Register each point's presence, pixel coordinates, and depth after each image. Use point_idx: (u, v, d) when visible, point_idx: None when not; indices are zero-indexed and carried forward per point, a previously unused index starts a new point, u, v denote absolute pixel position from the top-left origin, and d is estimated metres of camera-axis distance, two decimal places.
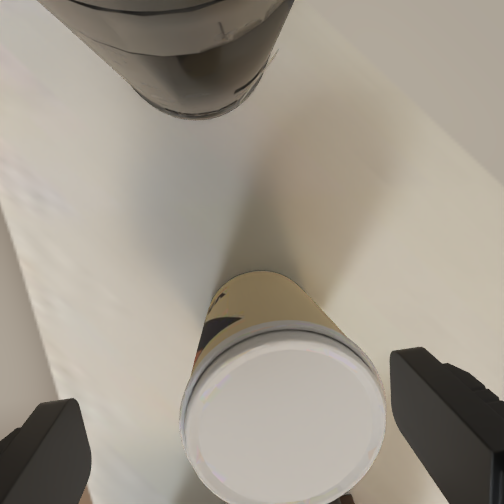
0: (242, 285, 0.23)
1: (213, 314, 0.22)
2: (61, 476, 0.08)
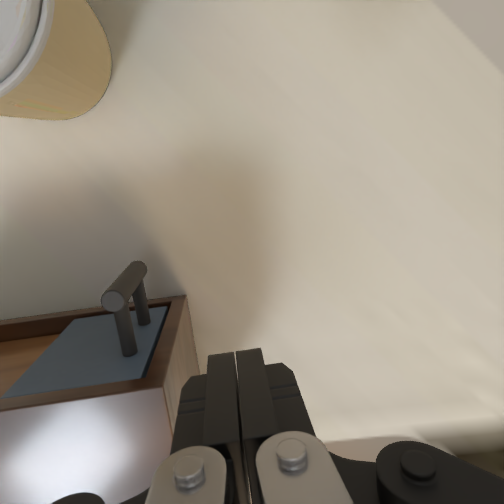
0: None
1: None
2: (240, 414, 0.09)
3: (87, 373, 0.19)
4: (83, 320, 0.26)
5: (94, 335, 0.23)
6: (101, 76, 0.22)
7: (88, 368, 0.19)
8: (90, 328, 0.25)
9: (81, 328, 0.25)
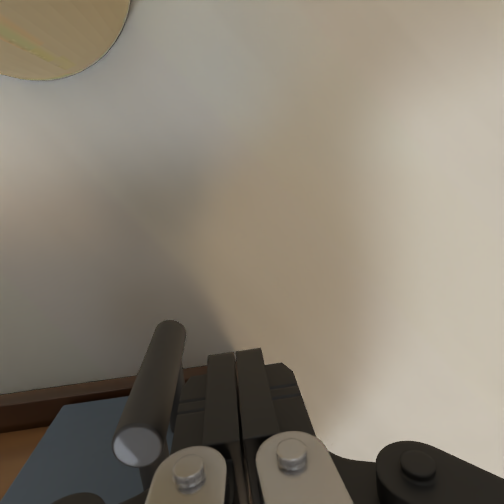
0: None
1: None
2: (240, 414, 0.09)
3: None
4: (76, 410, 0.16)
5: (95, 455, 0.13)
6: None
7: None
8: (89, 433, 0.14)
9: (73, 432, 0.15)
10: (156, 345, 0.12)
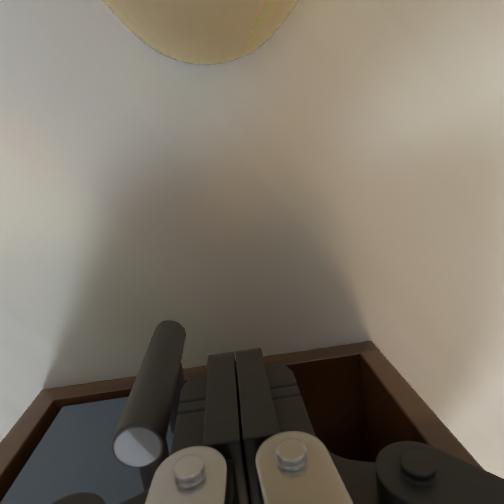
0: None
1: None
2: (240, 414, 0.09)
3: None
4: (76, 411, 0.16)
5: (95, 456, 0.13)
6: None
7: None
8: (88, 434, 0.14)
9: (73, 434, 0.15)
10: (156, 345, 0.12)
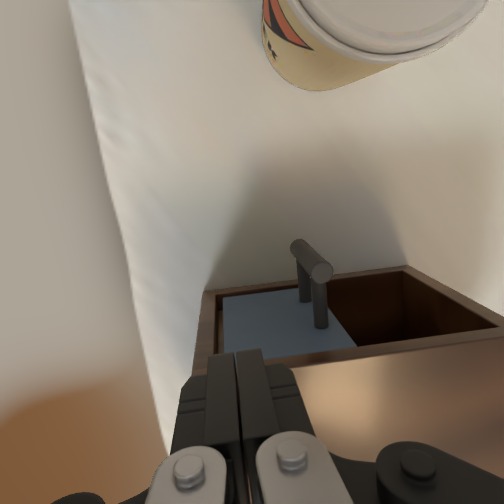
0: None
1: None
2: (240, 414, 0.09)
3: (294, 342, 0.19)
4: (234, 298, 0.27)
5: (262, 311, 0.24)
6: None
7: (290, 339, 0.20)
8: (250, 305, 0.25)
9: (240, 305, 0.25)
10: (303, 245, 0.23)
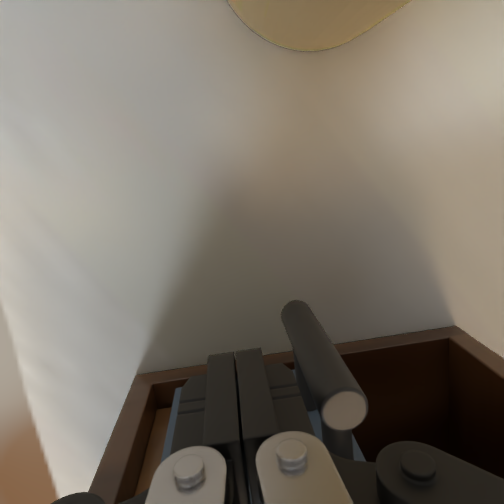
0: None
1: None
2: (240, 414, 0.09)
3: None
4: None
5: None
6: None
7: None
8: None
9: None
10: (303, 322, 0.12)
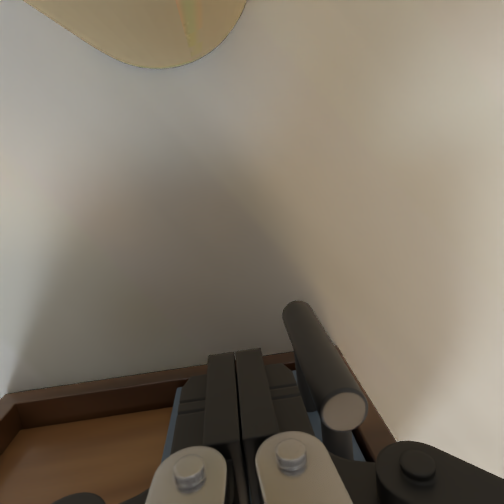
0: None
1: None
2: (240, 414, 0.09)
3: None
4: None
5: None
6: None
7: None
8: None
9: None
10: (304, 322, 0.12)
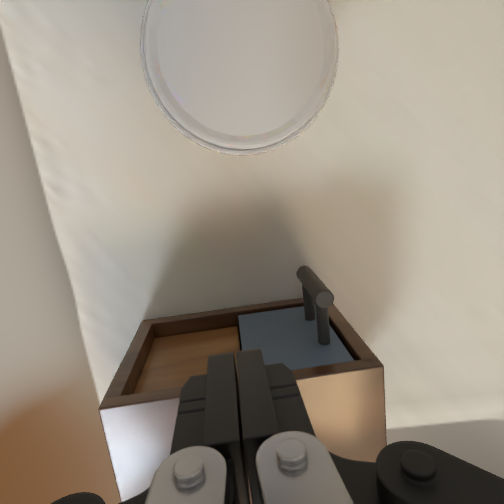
0: None
1: None
2: (240, 414, 0.09)
3: (302, 357, 0.23)
4: (248, 316, 0.31)
5: (274, 328, 0.28)
6: None
7: (298, 353, 0.24)
8: (263, 322, 0.29)
9: (254, 323, 0.29)
10: (308, 273, 0.27)
